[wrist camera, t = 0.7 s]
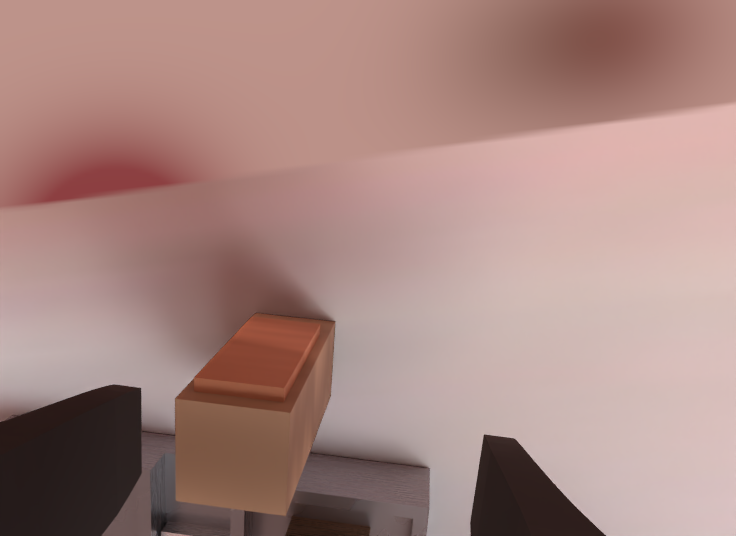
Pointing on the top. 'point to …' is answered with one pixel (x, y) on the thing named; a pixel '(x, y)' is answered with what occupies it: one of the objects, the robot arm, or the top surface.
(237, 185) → the top surface
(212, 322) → the top surface
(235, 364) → the wooden block with lid
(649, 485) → the top surface
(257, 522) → the grey compartment box
